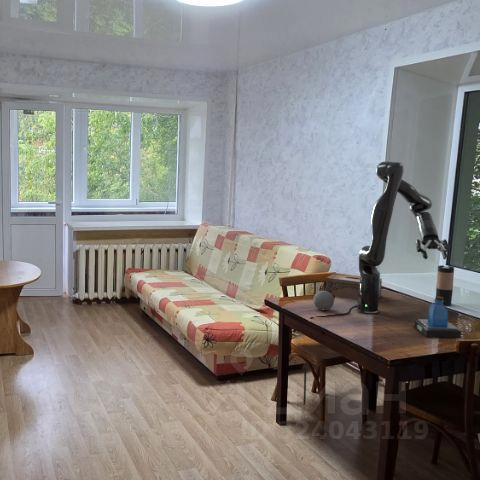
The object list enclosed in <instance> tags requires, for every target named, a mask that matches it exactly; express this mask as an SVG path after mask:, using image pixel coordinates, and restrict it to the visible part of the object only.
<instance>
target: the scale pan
mask: <svg viewBox="0 0 480 480" xmlns="http://www.w3.org/2000/svg"><path fill="white" fill-rule="evenodd" d="M417 320H418V321H419V322H420V323H421V324H422V325H424V326H425V327H426V328H427V329H431V330H457V329H459V328H458V327H457V326H455V325H454V324H453V323H451V322H449V321H448V325H447V326H435V325H431V324H430V323H429V322H428V318H418V319H417Z"/></svg>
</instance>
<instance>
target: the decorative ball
mask: <svg viewBox="0 0 480 480" xmlns="http://www.w3.org/2000/svg"><path fill="white" fill-rule="evenodd" d="M312 300H313V305H314V306H315V307H316V309H318V310H320V311H322V310H321V309H324V310H323V311H328V310H330V309H331V308H332V307H333V306H334V305H335V304H334V303H335V299H334V296H332V295H331V293H329V292H327V291H326V290H320V291H318V292H316V293H315V294H314V295H313V299H312ZM327 309H328V310H327Z"/></svg>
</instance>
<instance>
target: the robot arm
mask: <svg viewBox="0 0 480 480" xmlns="http://www.w3.org/2000/svg"><path fill="white" fill-rule="evenodd" d="M375 169H376V170H375V173H376V176H377V177H378V179H380V180H381V181H382V182H384V183H385V184H386V187H385V189H384V191H383V193H382V194H381V195H380V196H379V198H378V199H377V200H376V201H375V202H374V204H373V206H372V209H371V215H370V228H371V232H372V233H371V235H372V237H371V243H370V245H364V246H363V247H361V249H360V251H359V253H358V271H359V276H360V291H359V292H358V300H357V301H355V305H353V306H351V307H350V308H349V310H348V311H347V312H344V313H334V314H335V315H331V314H326V315H327V316H316V317H312V316H311V317H309V320H312V319H314V318H330V317H331V318H332V317H337V316H347V315H349V314H350V313H352V310H353V309H356V310H358V312H359V313H362V314H370V315H371V314H372V315H373V314H378V313H379V310H380V309H379V308H380V297H379V289H380V279H381V273H380V271H379V270H378V268H377V267H379V266H380V265H381V264H382V263H383V262H384V260H385V258H386V257H385V255H386V248H387V247H386V246H387V240H388V235H389V230H390V224H391V221H392V217H393V212H394V208H395V203H396V200H397V199H396V198H397V196H398V195H397V194H399V195H400V196H401V197H402V198H403V199H404V201H405V202H406V203H408V204H409V205H408V208H409V211H410V212H411V214H412V215H413V216H414V217H415V220H416V223H417V226H418V234H419V235H420V239H421V240H420V239H416V241H415V248H416V252H417V253H421V255H422V258H423V259H424V260H427V259H428V257H429V256H428V253H427V249H428V250H437V251H438V252H440V253H441V256H442V259H443V260H446V259H447V258H448V252H449V250H450V245H449V243H448V241H447V239H443V240H440V238H439V234H438V230H437V227H436V225H435V223H434V219H433V216H432V213H430V212H429V210H430V209H432V207H433V202H432V200H431V199H430V198H429V197H428V196H426V195H425V194H423V193H421V192H419V191H418V190H417V189H416V187H414V186H413V185H412V184H411V183H409V182H408V181H406V180H404V179H403V175H404V165H403V163H401V162H398V161H386V160H385V161H381V162H380V163H378V165H377V166H376V168H375ZM421 245H423V248H422V246H421ZM303 368H304V369H303V405H306V399H307V398H306V397H307V367H303Z"/></svg>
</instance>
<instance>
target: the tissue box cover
mask: <svg viewBox="0 0 480 480" xmlns="http://www.w3.org/2000/svg"><path fill="white" fill-rule="evenodd" d="M325 279H326V281H325V286H326V287H325V291H327V292H329V293H331V295H332V296H333V297H336V298H337V297H338V298H343V299H350V300H357V301H358V292H359V291H360V275H357V274H347V273H340V272H334V273H333V274H330V275H329V276H326V278H325ZM382 283H383V278H380V289H379V298H381V297H382Z"/></svg>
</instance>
